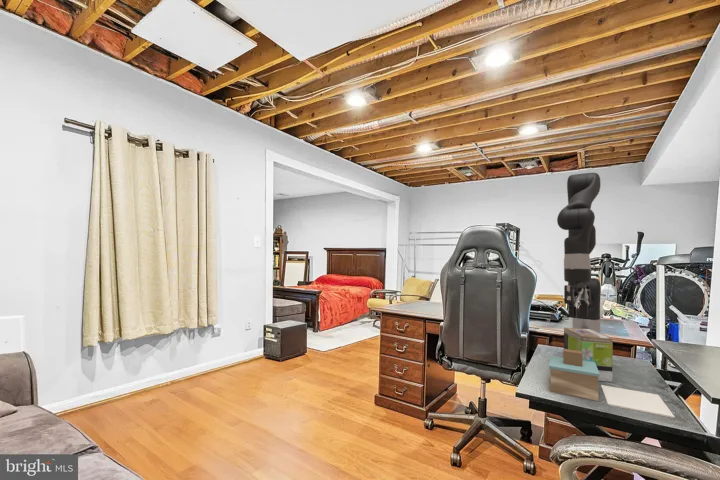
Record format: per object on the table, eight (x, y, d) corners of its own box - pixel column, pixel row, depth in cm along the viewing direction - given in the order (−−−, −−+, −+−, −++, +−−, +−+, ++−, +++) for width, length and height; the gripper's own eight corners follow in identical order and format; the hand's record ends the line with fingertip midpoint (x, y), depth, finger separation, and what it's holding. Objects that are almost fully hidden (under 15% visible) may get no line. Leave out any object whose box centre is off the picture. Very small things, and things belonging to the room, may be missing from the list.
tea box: (614, 382, 111) (613, 337, 111) (580, 379, 113) (580, 335, 113) (592, 367, 125) (591, 328, 126) (562, 365, 127) (562, 326, 128)
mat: (601, 386, 107) (601, 384, 107) (658, 396, 100) (658, 394, 100) (608, 405, 93) (607, 403, 93) (674, 418, 86) (674, 416, 86)
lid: (549, 360, 113) (549, 343, 113) (595, 367, 107) (594, 349, 107) (549, 371, 102) (549, 352, 102) (599, 380, 96) (599, 359, 96)
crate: (551, 379, 112) (550, 358, 113) (594, 386, 106) (593, 364, 107) (550, 391, 102) (550, 368, 102) (598, 400, 96) (598, 376, 96)
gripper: (574, 268, 118) (575, 314, 117) (555, 267, 110) (556, 316, 109) (598, 268, 112) (600, 317, 111) (580, 267, 104) (581, 319, 103)
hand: (578, 316), depth 110 cm, fingers open, 8 cm apart
